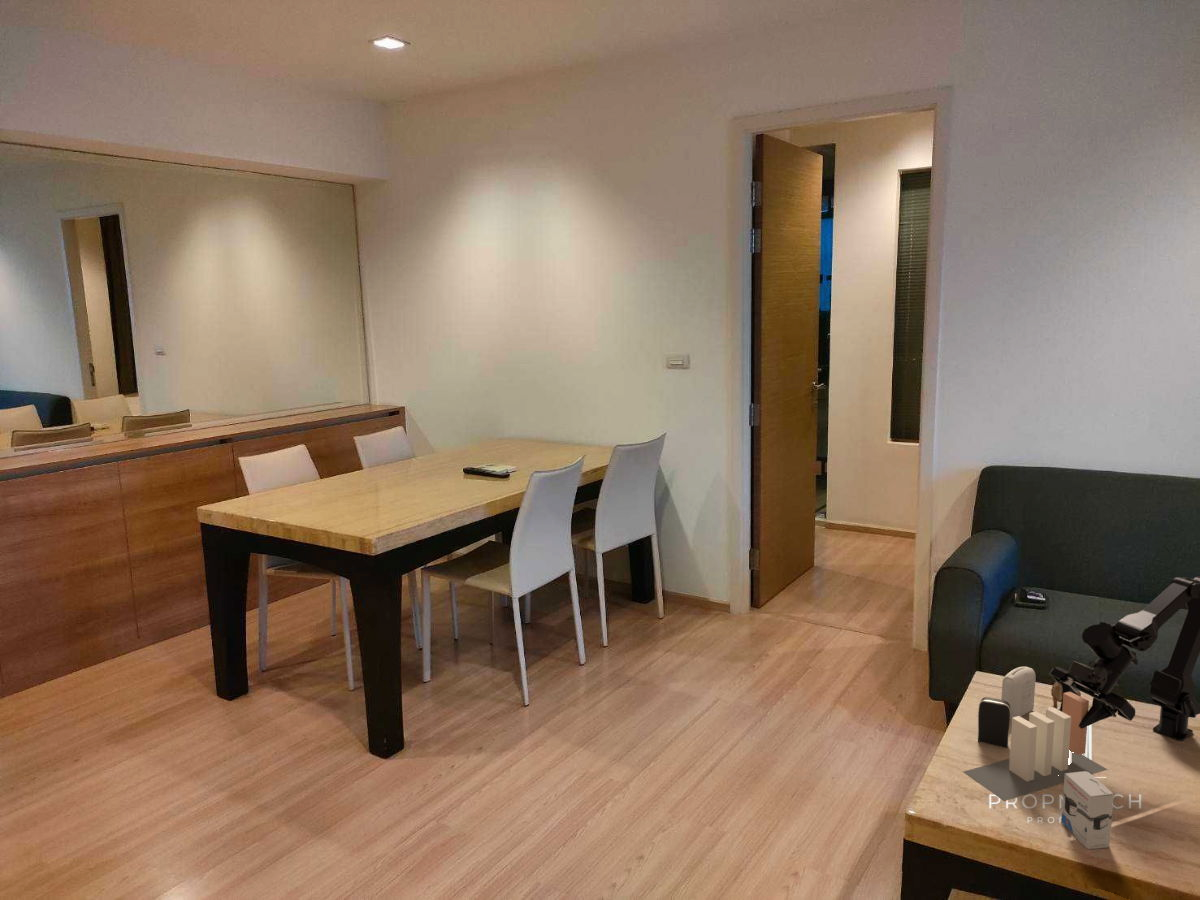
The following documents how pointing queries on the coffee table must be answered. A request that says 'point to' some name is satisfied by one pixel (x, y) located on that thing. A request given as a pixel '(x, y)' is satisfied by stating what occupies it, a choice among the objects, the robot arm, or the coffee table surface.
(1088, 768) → the domino mat
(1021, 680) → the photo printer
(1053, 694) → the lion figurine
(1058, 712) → the ivory domino
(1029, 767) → the ivory domino
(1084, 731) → the terracotta domino
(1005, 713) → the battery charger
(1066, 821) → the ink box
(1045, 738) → the ivory domino
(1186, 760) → the coffee table surface
